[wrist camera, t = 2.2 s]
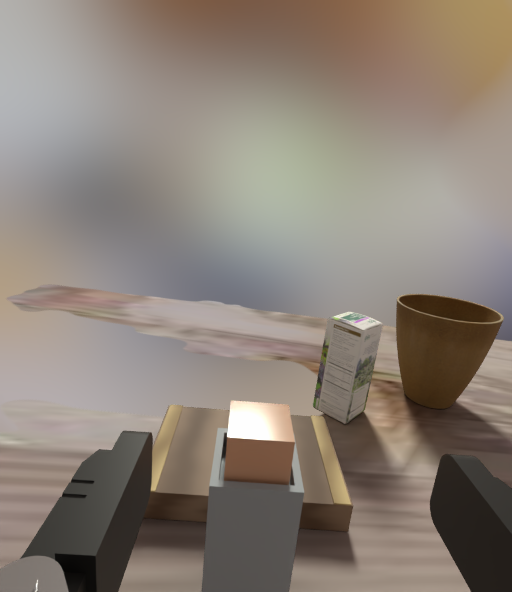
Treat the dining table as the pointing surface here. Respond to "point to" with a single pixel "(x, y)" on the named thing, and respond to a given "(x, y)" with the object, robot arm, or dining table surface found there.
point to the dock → (199, 458)
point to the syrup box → (347, 365)
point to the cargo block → (259, 443)
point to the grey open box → (250, 530)
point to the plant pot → (441, 345)
